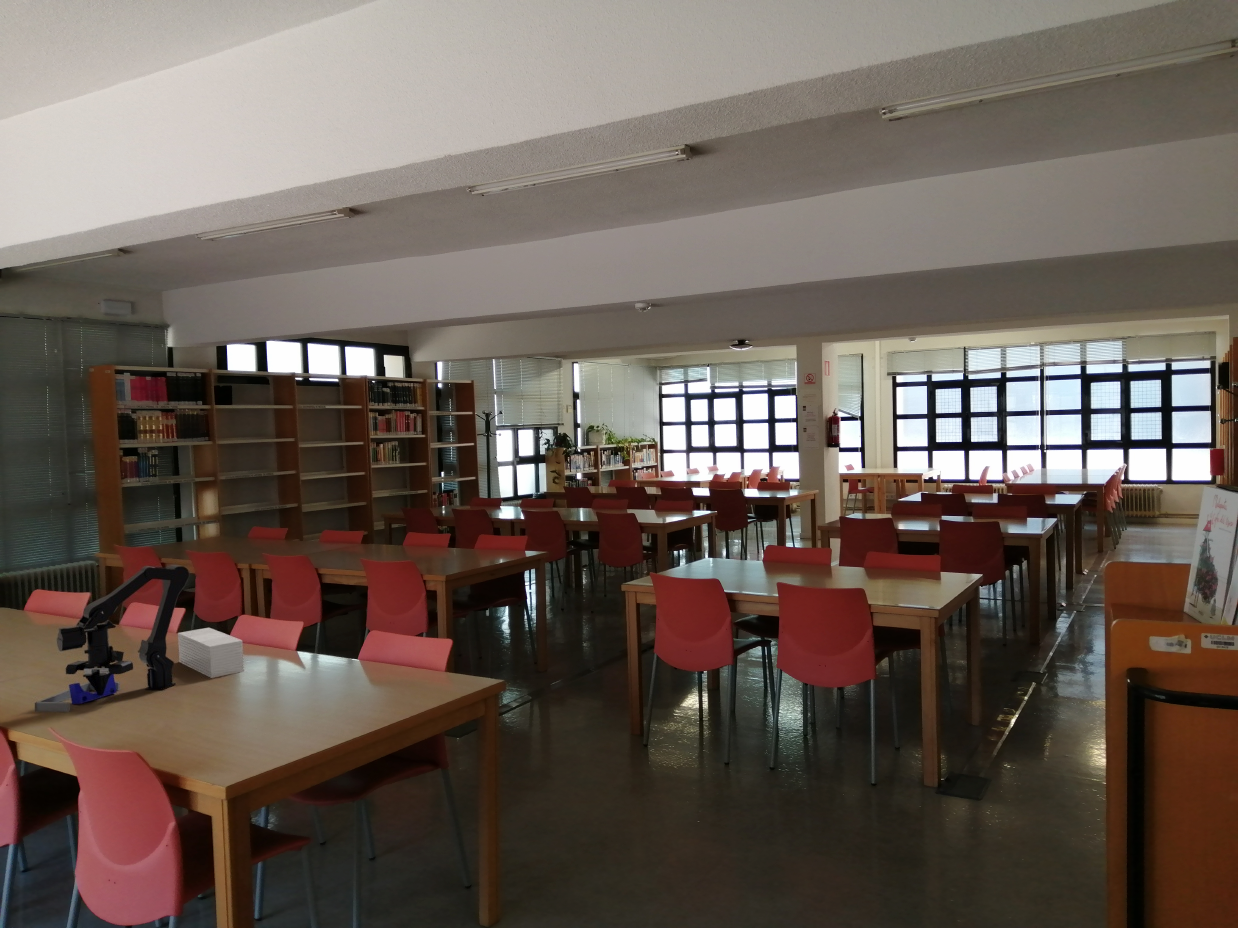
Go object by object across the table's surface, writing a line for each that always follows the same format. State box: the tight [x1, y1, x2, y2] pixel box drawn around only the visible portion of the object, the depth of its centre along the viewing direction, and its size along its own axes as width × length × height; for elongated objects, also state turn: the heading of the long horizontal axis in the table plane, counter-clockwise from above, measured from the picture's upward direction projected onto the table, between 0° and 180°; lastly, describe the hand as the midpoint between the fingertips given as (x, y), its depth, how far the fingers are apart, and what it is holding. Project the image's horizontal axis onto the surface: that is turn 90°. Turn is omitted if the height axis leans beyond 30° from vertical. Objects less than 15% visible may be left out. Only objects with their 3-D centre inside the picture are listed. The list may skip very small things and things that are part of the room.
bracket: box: [34, 681, 121, 713], centre depth 269 cm, size 11×22×2 cm, turn 172°
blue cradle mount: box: [68, 674, 118, 705], centre depth 270 cm, size 12×4×6 cm, turn 152°
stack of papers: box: [177, 627, 245, 679], centre depth 305 cm, size 32×11×11 cm, turn 44°
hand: (100, 695), depth 268 cm, fingers closed
